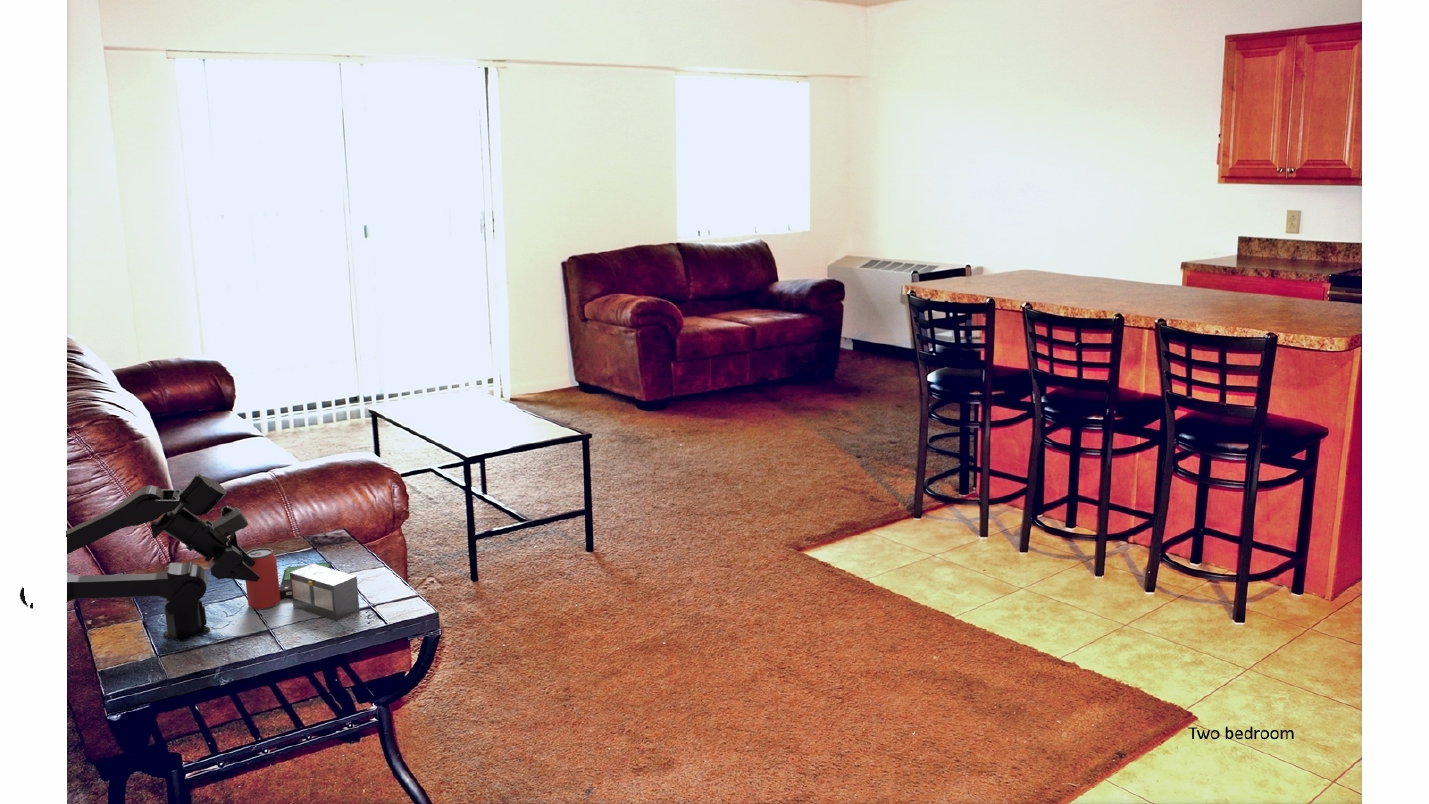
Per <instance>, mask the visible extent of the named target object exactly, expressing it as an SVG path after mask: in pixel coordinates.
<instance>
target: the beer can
mask: <svg viewBox="0 0 1429 804" xmlns="http://www.w3.org/2000/svg"><path fill="white" fill-rule="evenodd" d="M246 553H247V554H248V555H249V556H250V557H251V558H252V559H253V561H254V562H255V564H254V565H253V566H252V567H250V566H249V567H250V568H251V569H252V570H253V571H254V572H255V573H256V574H257V575H258V576H259V577H260V579H259V580H258V581H257V582H254V581H246V580H244V581H245V589H246V597H247V606H248V607H249V608H251V609H253V610H266V609H271V608H273V607H275V606H277V605H278V604H279V603H280V602H281V599H280V581H279V573H278V563H277V558H276V555H275V554H274V550H273V549H271V548H267V547H258V548H254V549H251V550H248V551H247V552H246Z"/></svg>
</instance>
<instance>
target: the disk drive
mask: <svg viewBox="0 0 1429 804" xmlns="http://www.w3.org/2000/svg"><path fill="white" fill-rule="evenodd" d="M310 564H311V563H307V564H305V565H304V564H303V565H297V566H291V565H290V566H287V567H286V568H285V569H284V571H283V575H282V579H281V582H280V585H279V590H280V599H281V600H292V590H291V580H290V572H292V571H295V570H298V569H300V568H303V567H305V566H308V565H310ZM315 564H317V565H320V566H323V567H327V568H330V569H333V566H332V565H333V564H332V562H331V561H327V562H325V561H324V562H317V563H315ZM281 600H280V601H281Z"/></svg>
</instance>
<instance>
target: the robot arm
mask: <svg viewBox="0 0 1429 804" xmlns="http://www.w3.org/2000/svg"><path fill="white" fill-rule="evenodd" d="M226 494H227V490H226V489H225V488H224V487H223V486H222V485H221V484H220V483H219V482H218V481H216V480H215V479H213V478H212V479H211V478H209V477H206V476H204V475H202V474H200V473H196V474H194V476H193V477H192V479H191V481H190V482H189V483H187V485H186V486H184V488H183V489H162V488H160V487H158V486H154V485H152V484H151V485H144V486H142V487H141V488H139V489H137V490H136V491H135V492H133V493H131V495H129V496H128V497H126V498H125V499H123V500H122V501H121V502H120V503H119V504H118V505H116V506H115V507H113V508H112V509H109V510H107V511H104V512H103V513H101V514H99V515H97V516H94V517H92V518H90V519H88V520H86V521H84V522H81V523H80V524H78V525H75V526H73V527H71V528H69V529H67V530H65V531H66V537H67V555H68V554H71V553H73V552H75V551H77V550H80V549H81V548H84V547H86V546H87V545H90V544H92V543H94V542H96V541H98V540H100V539H103V538H104V537H107V536H108V535H109V536H110V534H113V533H115V532H117V531H119V530H121V529H126V528H130V527H135V526H136V527H137V526H141V525H143V524H148V523H149V527H150V529H151V534H152V535H151V536H152V539H156V538H158V537H159V535H161V533H162V532H164V533H165V534H166V535H168V536H170V537H172V538H173V539H175V540H177V541H179V542H180V543H182V544H183V545H185V547H186V549H187V550H188V551H190V552H191V551H194V552H196V553H197V554H199V555H201V556H203V560H205V562H207V563H209V571H210V575H211V576H213V577H214V578H216V579H217V580H221V579H222V580H224V579H227V580H228V579H229V580H238V581H239V580H240V581H245V580H246V581H254V582H257V581H258V580H259V579H260V577H259V576H258V575H257V574H256V573H255V572H254V571H253V570H252V569H251V568H250V567H252V566H253V565H254V564H255V562H254V561H253V559H252V558H251V557H250V556H249V555H248V554H247V552H246V551H245V550H244V549H243V548H242V547H241V545H240V544H238V537H237V532H239V531H240V530H244V529H245V528H247V527H248V525H249V523H248V520H247V518H246V516H245V515H244V513H243V512H242V511H241V509H240V508H239V507H232V506H230V505H225V506H223V507H222V508H220V513H221V516H218V517H217V519H216V520H214V521H211V520H209V519H204V520H203V519H202V518H199V517H198V516H200V517H201V516H205V515H206V516H207V515H208V514H209V513H210V512H211V511H212V510H213V509H214V507H215V506H217V504H219V502H221V500H222V499H223V498H224V497H225V495H226ZM249 566H250V567H249ZM66 572H67V571H66ZM208 575H209V574H208V572H207V570H205V569H204V568H203V567H202V566H201V565H198V564H192V561H188V562H185V563H181V562H180V563H179V562H170V563H168V566H167V570H164V571H162V572H158V573H157V572H156V573H128V574H124V573H123V574H99V575H98V574H93V575H90V574H89V575H76V574H73V573H70V572H67V602H66V603H69V602H71V601H75V600H90V599H93V600H94V599H114V598H115V599H117V598H138V597H139V598H142V597H144V598H145V597H159V598H161V599H163V600H164V599H165V604H164V615H165V621H166V622H165V624H166V630H165V631H163V636H165V637H168V638H171V639H173V640H175V641H178V642H186V641H187V640H190V639H192V638H194V637H196V636H199V635H202V634H204V633H207V632H209V631H210V630H211V628H210V626H207V624H208V623H207V613H206V607H205V606H204V605H203V601H202V598H203V597H204V596H205V595H206V592H207V588H208V578H209V577H208ZM246 581H245V582H246ZM19 600H20V601H21V603H22V604H23V605H25V606H26V607H27V608H28V605H27V603H26V601H25V596H24V588H23V586H22V587H21V589H20V591H19ZM29 609H32V610H34V609H33V603H31V605H30V608H29Z"/></svg>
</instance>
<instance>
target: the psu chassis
mask: <svg viewBox="0 0 1429 804" xmlns="http://www.w3.org/2000/svg"><path fill="white" fill-rule="evenodd" d="M309 564H310V565H308V564H307V565H308V566H305V567H303V568H300V569H298V570H295V571H292V572H290V580H291V590H292V599H291V600H292V606H293V608H294V609H298V610H302V611H305V612H306V613H310V614H313V615H315V616H319V617H322V618H326V619H328V620H332V621H335V622H339V621H342V620H343V619H345V618H347V617H350V616H352V615H354V614H357V613H359V612H360V611H361V610H360V600H359V599H360V598H359V589H358V578H357V575H353V574H350V573H347V572H343V571H340V570H336V569H333V568H332V569H330V568H327V567H323V566H320V565H317V564H316V563H309Z"/></svg>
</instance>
